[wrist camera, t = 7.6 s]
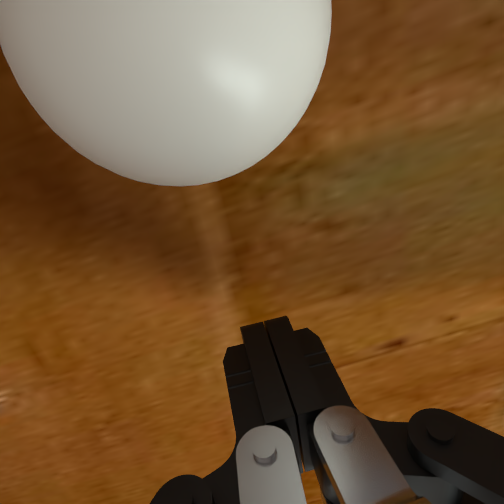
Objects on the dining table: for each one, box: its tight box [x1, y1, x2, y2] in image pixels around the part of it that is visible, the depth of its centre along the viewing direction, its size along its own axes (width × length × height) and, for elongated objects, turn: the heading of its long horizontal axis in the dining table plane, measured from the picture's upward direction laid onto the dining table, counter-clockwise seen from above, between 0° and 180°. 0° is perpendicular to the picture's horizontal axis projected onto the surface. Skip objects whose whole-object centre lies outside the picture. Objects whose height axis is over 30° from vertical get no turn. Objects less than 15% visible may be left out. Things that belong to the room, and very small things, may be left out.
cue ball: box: [0, 0, 332, 186], centre depth 8 cm, size 6×6×6 cm
